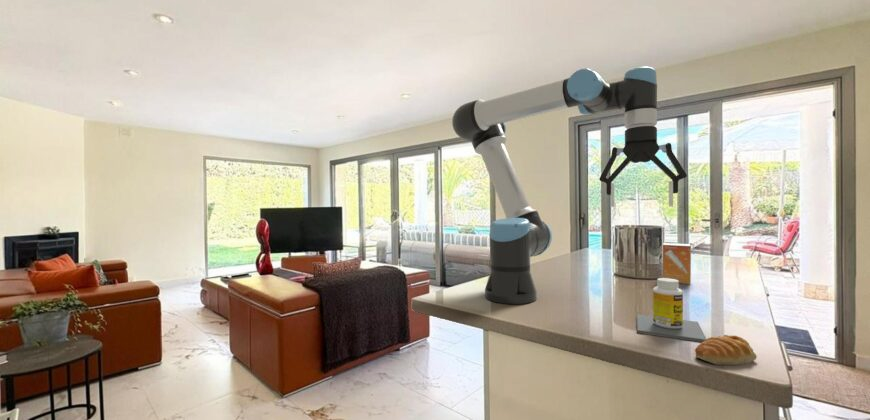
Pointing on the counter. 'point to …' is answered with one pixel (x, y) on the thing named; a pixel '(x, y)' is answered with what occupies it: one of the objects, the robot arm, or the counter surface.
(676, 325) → the supplement bottle
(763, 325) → the counter surface
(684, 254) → the small box
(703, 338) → the mat
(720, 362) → the pastry
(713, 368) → the counter surface
